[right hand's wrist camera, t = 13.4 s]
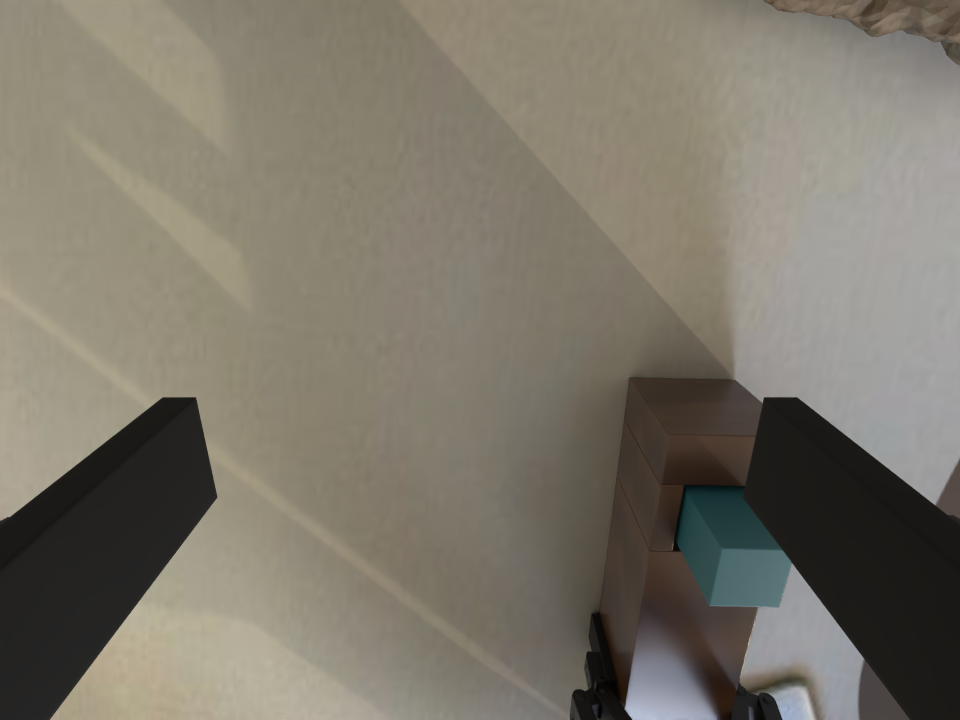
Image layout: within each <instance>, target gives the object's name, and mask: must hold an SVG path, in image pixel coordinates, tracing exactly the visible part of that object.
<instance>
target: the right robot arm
mask: <svg viewBox="0 0 960 720" xmlns="http://www.w3.org/2000/svg"><path fill="white" fill-rule="evenodd" d="M216 498H217V493H216V489H215V484H214V479H213V475H212V470H211V465H210V461H209V456H208V451H207V447H206V442H205V437H204V433H203V428H202V423H201V419H200V414H199V409H198V405H197V400H196V397H163V398H162V399H160V400H159V401H158V402H156V403H155V404H154V405H153V406H151V407H150V408H149V409H147V410H146V411H145V412H144V413H142V414H141V415H140V416H139V417H137V418H136V419H135V420H133V421H132V422H131V423H130V424H128V425H127V426H126V427H124V428H123V429H122V430H121V431H119V432H118V433H117V434H116V435H114V436H113V437H112V438H110V439H109V440H108V441H107V442H105V443H104V444H103V445H101V446H100V447H99V448H98V449H96V450H95V451H94V452H93V453H91V454H90V455H89V456H87V457H86V458H85V459H84V460H82V461H81V462H80V463H79V464H77V465H76V466H75V467H73V468H72V469H71V470H70V471H68V472H67V473H66V474H64V475H63V476H62V477H61V478H59V479H58V480H57V481H56V482H54V483H53V484H52V485H50V486H49V487H48V488H47V489H45V490H44V491H43V492H41V493H40V494H39V495H38V496H36V497H35V498H34V499H33V500H31V501H30V502H29V503H27V504H26V505H25V506H24V507H22V508H21V509H20V510H18V511H17V512H16V513H15V514H13V515H12V516H11V517H7V518H5V519H3V520H1V521H0V720H50V719H51V717H52V716H53V715H54V713H55V712H56V711H57V709H58V708H59V707H60V705H61V704H62V703H63V701H64V700H65V699H66V697H67V696H68V695H69V693H70V692H71V691H72V689H73V688H74V687H75V685H76V684H77V683H78V681H79V680H80V679H81V678H82V676H83V675H84V674H85V672H86V671H87V670H88V668H89V667H90V666H91V664H92V663H93V662H94V660H95V659H96V658H97V656H98V655H99V654H100V652H101V651H102V650H103V648H104V647H105V646H106V644H107V643H108V642H109V640H110V639H111V638H112V636H113V635H114V634H115V632H116V631H117V630H118V628H119V627H120V626H121V624H122V623H123V622H124V620H125V619H126V618H127V617H128V615H129V614H130V613H131V611H132V610H133V609H134V607H135V606H136V605H137V603H138V602H139V601H140V599H141V598H142V597H143V595H144V594H145V593H146V591H147V590H148V589H149V587H150V586H151V585H152V583H153V582H154V581H155V579H156V578H157V577H158V575H159V574H160V573H161V571H162V570H163V569H164V567H165V566H166V565H167V563H168V562H169V561H170V559H171V558H172V557H173V556H174V554H175V553H176V552H177V550H178V549H179V548H180V546H181V545H182V544H183V542H184V541H185V540H186V538H187V537H188V536H189V534H190V533H191V532H192V530H193V529H194V528H195V526H196V525H197V524H198V522H199V521H200V520H201V518H202V517H203V516H204V514H205V513H206V512H207V510H208V509H209V508H210V506H211V505H212V504H213V502H214V501H215V500H216ZM743 498H744V500H745V501H746V502H747V504H748V505H749V506H750V508H751V509H752V510H753V512H754V513H755V514H756V516H757V517H758V518H759V520H760V521H761V522H762V524H763V525H764V526H765V528H766V529H767V530H768V532H769V533H770V534H771V536H772V537H773V538H774V540H775V541H776V542H777V544H778V545H779V546H780V548H781V549H782V550H783V552H784V553H785V554H786V556H787V557H788V558H789V559H790V561H791V562H792V563H793V565H794V566H795V567H796V569H797V570H798V571H799V573H800V574H801V575H802V577H803V578H804V579H805V581H806V582H807V583H808V585H809V586H810V587H811V589H812V590H813V591H814V593H815V594H816V595H817V597H818V598H819V599H820V601H821V602H822V603H823V605H824V606H825V607H826V609H827V610H828V611H829V613H830V614H831V615H832V617H833V618H834V619H835V620H836V622H837V623H838V624H839V626H840V627H841V628H842V630H843V631H844V632H845V634H846V635H847V636H848V638H849V639H850V640H851V642H852V643H853V644H854V646H855V647H856V648H857V650H858V651H859V652H860V654H861V655H862V656H863V658H864V659H865V660H866V662H867V663H868V664H869V666H870V667H871V668H872V670H873V671H874V672H875V674H876V675H877V676H878V678H879V679H880V680H881V681H882V683H883V684H884V685H885V687H886V688H887V689H888V691H889V692H890V693H891V695H892V696H893V697H894V699H895V700H896V701H897V703H898V704H899V705H900V707H901V708H902V709H903V711H904V712H905V713H906V715H907V716H908V717H909V719H910V720H960V519H959V518H957V517H955V516H953V515H947V514H945V513H944V512H943V511H941V510H940V509H939V508H938V507H936V506H935V505H934V504H933V503H931V502H930V501H929V500H927V499H926V498H925V497H924V496H922V495H921V494H920V493H919V492H917V491H916V490H915V489H913V488H912V487H911V486H910V485H908V484H907V483H906V482H904V481H903V480H902V479H901V478H899V477H898V476H897V475H896V474H894V473H893V472H892V471H890V470H889V469H888V468H887V467H885V466H884V465H883V464H881V463H880V462H879V461H878V460H876V459H875V458H874V457H873V456H871V455H870V454H869V453H867V452H866V451H865V450H864V449H862V448H861V447H860V446H859V445H857V444H856V443H855V442H853V441H852V440H851V439H850V438H848V437H847V436H846V435H844V434H843V433H842V432H841V431H839V430H838V429H837V428H836V427H834V426H833V425H832V424H830V423H829V422H828V421H827V420H825V419H824V418H823V417H821V416H820V415H819V414H818V413H816V412H815V411H814V410H813V409H811V408H810V407H809V406H807V405H806V404H805V403H804V402H802V401H801V400H800V399H798V398H797V397H764V400H763V405H762V409H761V414H760V419H759V423H758V428H757V433H756V437H755V442H754V447H753V451H752V456H751V461H750V465H749V470H748V475H747V479H746V484H745V489H744V493H743Z"/></svg>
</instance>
